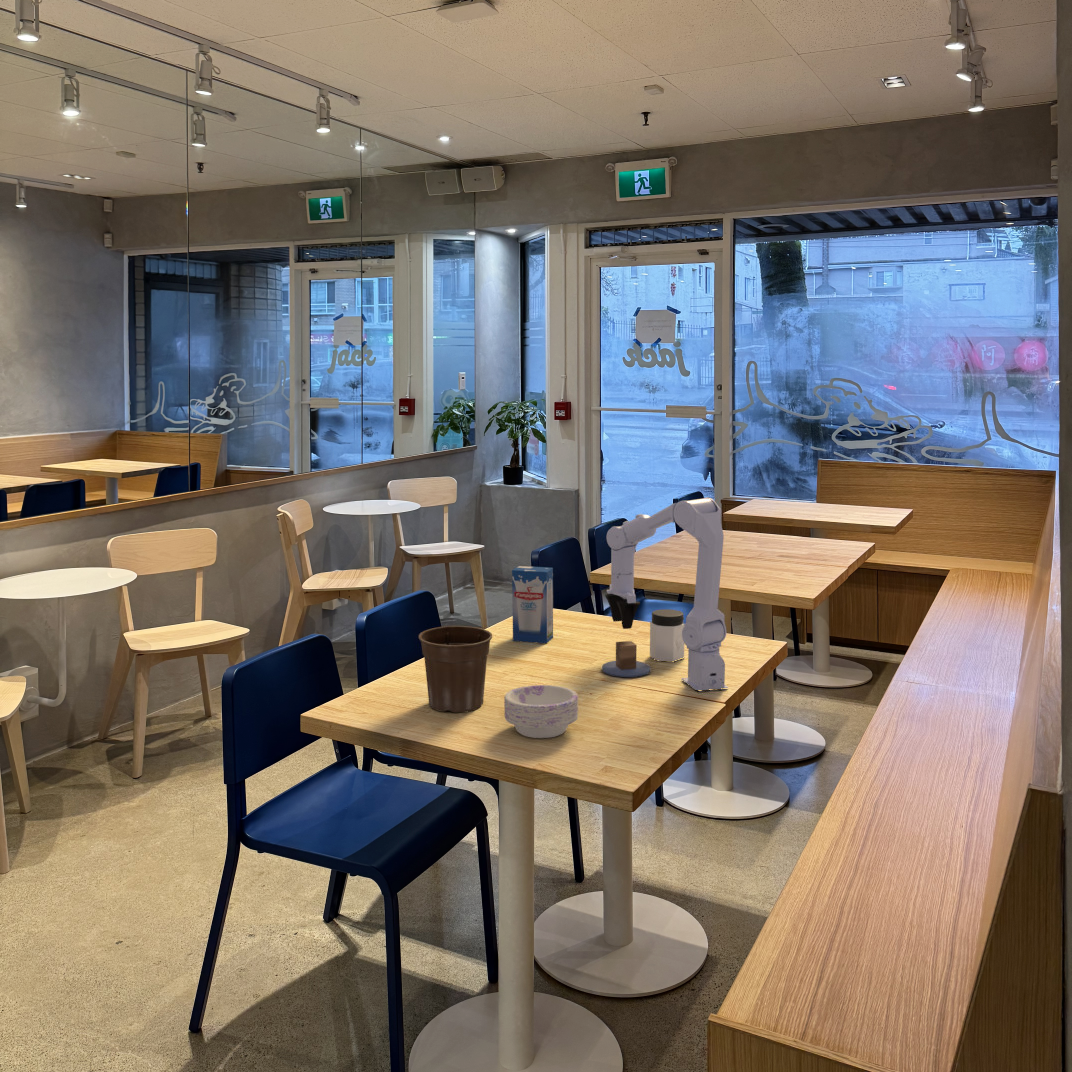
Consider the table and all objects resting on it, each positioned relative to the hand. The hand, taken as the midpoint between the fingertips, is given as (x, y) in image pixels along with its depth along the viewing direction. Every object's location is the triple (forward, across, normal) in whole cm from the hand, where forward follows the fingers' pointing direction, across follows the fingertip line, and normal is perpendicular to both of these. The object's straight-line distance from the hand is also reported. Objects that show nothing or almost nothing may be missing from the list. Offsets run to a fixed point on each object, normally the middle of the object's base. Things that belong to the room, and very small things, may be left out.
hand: (622, 624), depth 254 cm
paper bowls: (+10, +44, -33) cm, 56 cm away
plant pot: (+10, +23, -47) cm, 53 cm away
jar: (+10, +1, +12) cm, 15 cm away
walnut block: (+8, +9, -2) cm, 12 cm away
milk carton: (+10, -26, -17) cm, 33 cm away
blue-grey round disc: (+9, +9, -2) cm, 13 cm away
